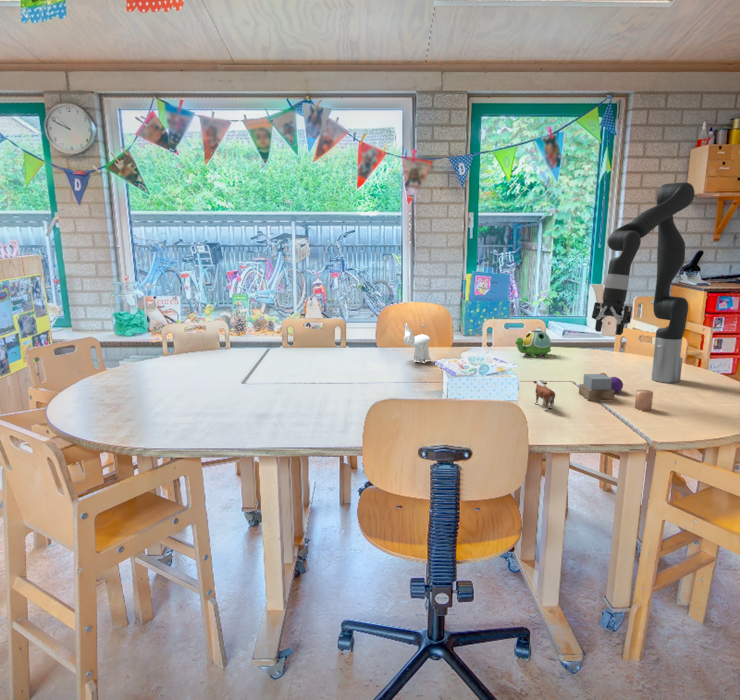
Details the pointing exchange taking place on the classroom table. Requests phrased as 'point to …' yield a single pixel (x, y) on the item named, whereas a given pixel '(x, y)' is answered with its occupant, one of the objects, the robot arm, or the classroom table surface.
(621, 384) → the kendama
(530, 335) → the turtle holder
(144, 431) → the classroom table surface
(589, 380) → the top block
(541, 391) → the bull figurine
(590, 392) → the bottom block
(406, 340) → the toy animal
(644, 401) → the terracotta cylinder
